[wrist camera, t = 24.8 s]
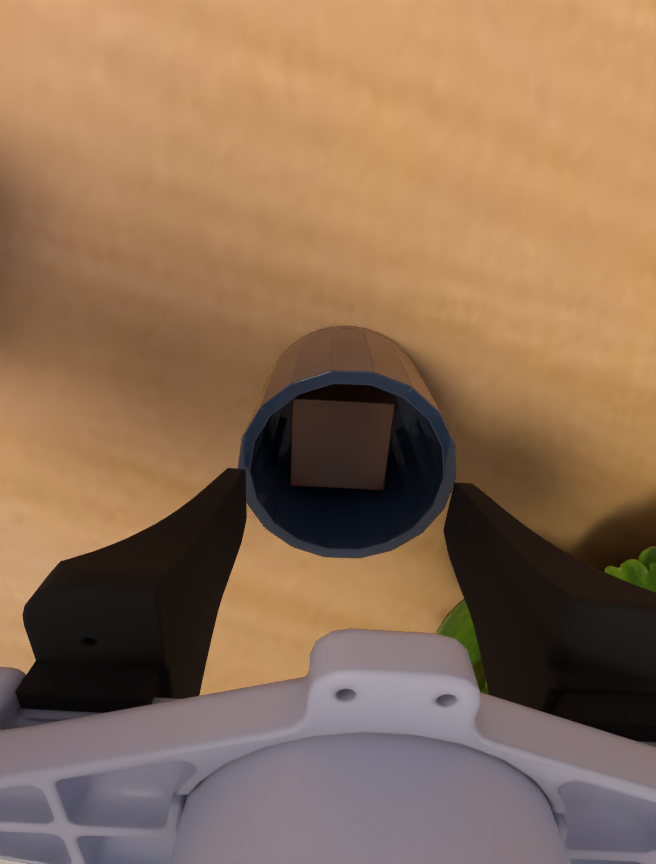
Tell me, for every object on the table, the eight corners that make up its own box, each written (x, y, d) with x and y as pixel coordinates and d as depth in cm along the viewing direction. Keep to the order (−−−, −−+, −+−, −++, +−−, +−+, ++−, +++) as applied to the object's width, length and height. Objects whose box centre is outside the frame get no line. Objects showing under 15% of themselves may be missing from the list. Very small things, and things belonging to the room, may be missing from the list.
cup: (231, 392, 23) (191, 458, 16) (360, 289, 20) (372, 320, 14) (329, 496, 25) (327, 588, 19) (452, 416, 23) (497, 490, 17)
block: (297, 442, 23) (289, 486, 19) (299, 366, 21) (291, 398, 18) (376, 446, 23) (384, 491, 19) (384, 371, 21) (395, 404, 18)
